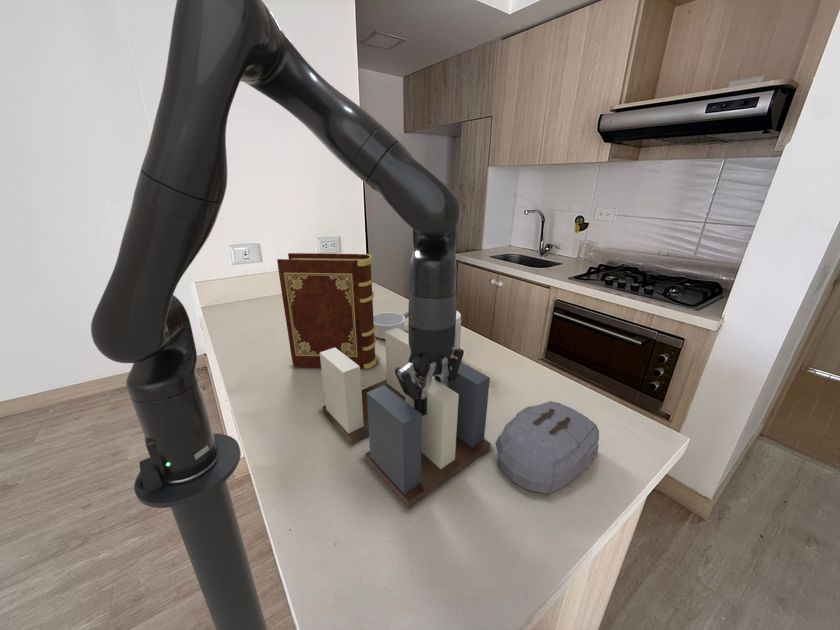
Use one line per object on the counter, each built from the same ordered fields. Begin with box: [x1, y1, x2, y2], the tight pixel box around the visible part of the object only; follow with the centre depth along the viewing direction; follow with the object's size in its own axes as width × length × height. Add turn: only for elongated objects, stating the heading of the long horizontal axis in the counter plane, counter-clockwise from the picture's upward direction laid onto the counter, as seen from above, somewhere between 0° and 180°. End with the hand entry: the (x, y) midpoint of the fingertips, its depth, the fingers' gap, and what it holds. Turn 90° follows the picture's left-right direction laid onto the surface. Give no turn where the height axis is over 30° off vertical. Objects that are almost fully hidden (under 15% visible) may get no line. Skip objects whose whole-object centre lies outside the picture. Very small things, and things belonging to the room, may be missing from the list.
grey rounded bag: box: [494, 400, 600, 494], centre depth 62 cm, size 15×8×20 cm
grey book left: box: [367, 385, 421, 494], centre depth 56 cm, size 4×10×14 cm, turn 40°
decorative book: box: [276, 252, 378, 370], centre depth 91 cm, size 22×8×30 cm, turn 89°
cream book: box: [405, 373, 459, 469], centre depth 61 cm, size 4×10×14 cm, turn 40°
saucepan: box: [373, 311, 408, 340], centre depth 115 cm, size 12×20×6 cm, turn 133°
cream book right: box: [384, 328, 414, 397], centre depth 79 cm, size 4×10×14 cm, turn 40°
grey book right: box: [448, 361, 491, 447], centre depth 66 cm, size 4×10×14 cm, turn 40°
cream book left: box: [320, 348, 364, 434], centre depth 69 cm, size 4×10×14 cm, turn 40°
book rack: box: [321, 378, 492, 509], centre depth 70 cm, size 20×31×2 cm, turn 40°
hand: (430, 407), depth 60 cm, fingers closed on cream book, 3 cm apart
